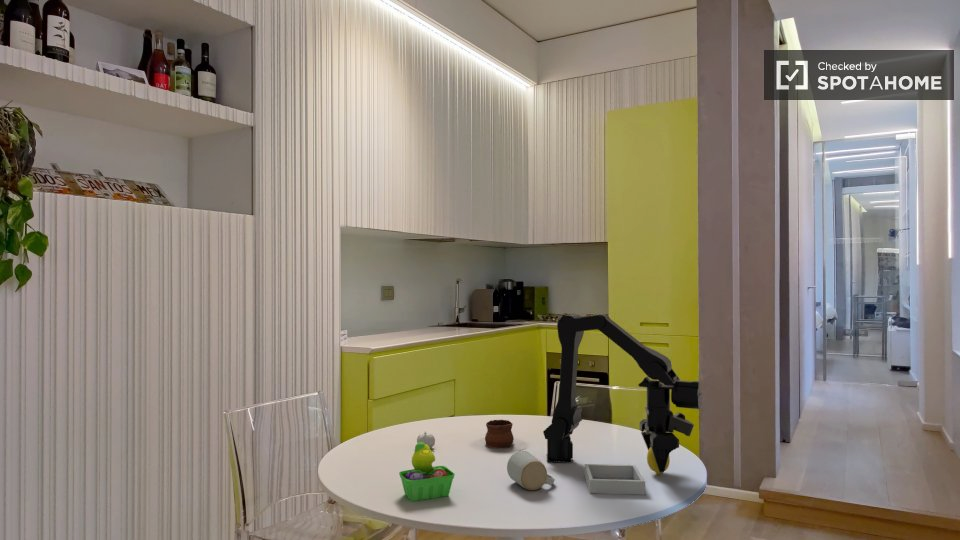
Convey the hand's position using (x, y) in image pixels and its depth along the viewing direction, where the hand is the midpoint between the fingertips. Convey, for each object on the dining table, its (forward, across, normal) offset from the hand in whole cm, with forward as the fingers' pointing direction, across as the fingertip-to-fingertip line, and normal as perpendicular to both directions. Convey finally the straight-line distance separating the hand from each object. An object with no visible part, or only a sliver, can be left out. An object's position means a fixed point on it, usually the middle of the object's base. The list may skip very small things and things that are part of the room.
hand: (658, 466), depth 158 cm
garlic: (+2, +19, +62) cm, 65 cm away
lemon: (+2, 0, 0) cm, 2 cm away
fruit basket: (+2, -19, +56) cm, 60 cm away
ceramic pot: (+3, +25, +41) cm, 48 cm away
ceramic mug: (+2, -11, +32) cm, 34 cm away
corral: (+2, -9, +12) cm, 16 cm away
